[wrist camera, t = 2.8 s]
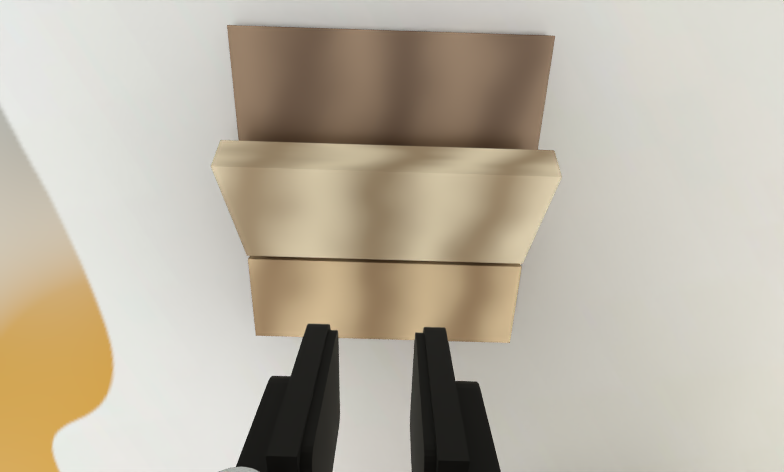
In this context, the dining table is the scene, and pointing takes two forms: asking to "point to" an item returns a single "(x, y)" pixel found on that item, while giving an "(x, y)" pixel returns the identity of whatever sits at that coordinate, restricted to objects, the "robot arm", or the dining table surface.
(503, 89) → the floor board
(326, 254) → the hinged plank
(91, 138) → the dining table surface
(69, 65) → the dining table surface
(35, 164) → the dining table surface
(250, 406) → the dining table surface
